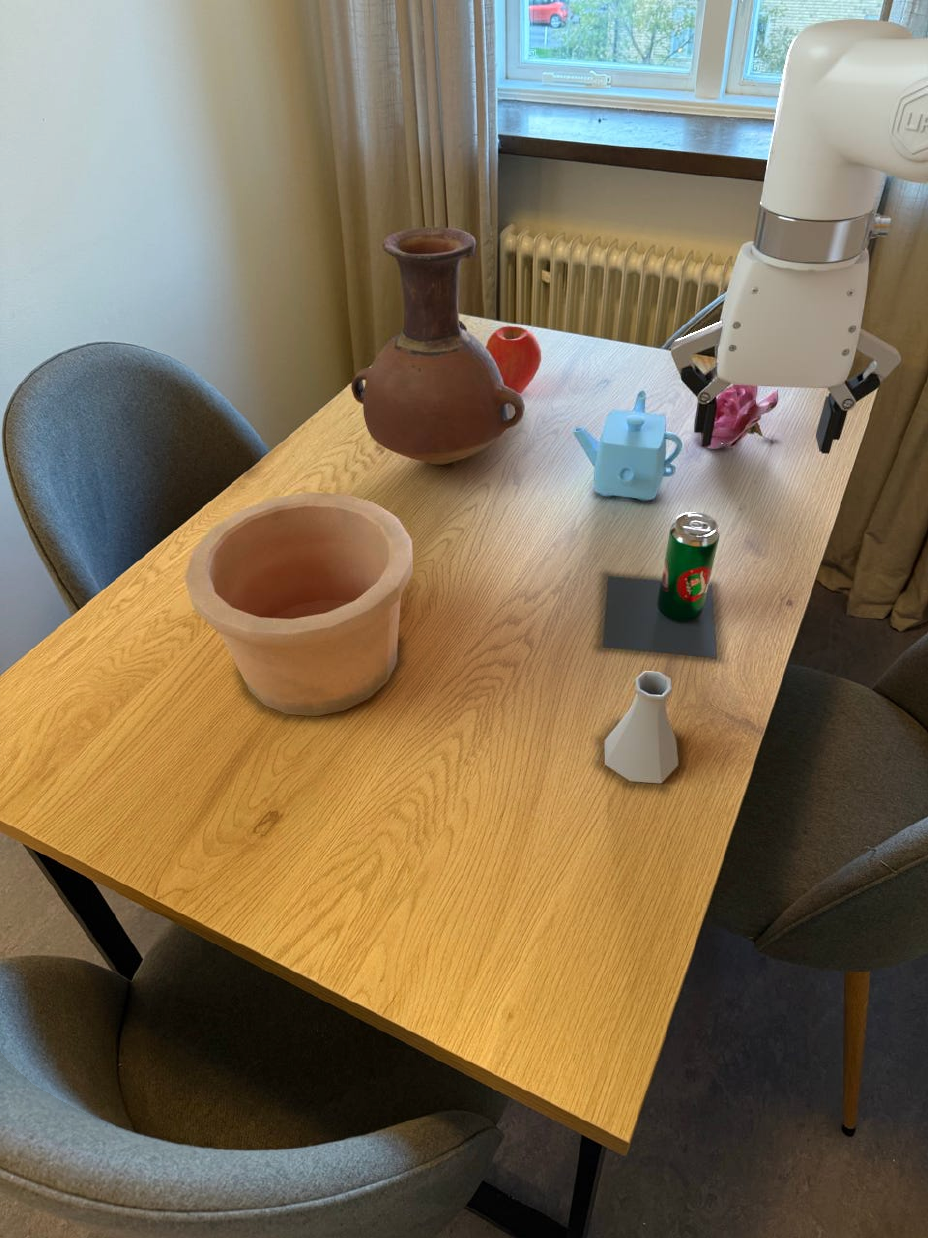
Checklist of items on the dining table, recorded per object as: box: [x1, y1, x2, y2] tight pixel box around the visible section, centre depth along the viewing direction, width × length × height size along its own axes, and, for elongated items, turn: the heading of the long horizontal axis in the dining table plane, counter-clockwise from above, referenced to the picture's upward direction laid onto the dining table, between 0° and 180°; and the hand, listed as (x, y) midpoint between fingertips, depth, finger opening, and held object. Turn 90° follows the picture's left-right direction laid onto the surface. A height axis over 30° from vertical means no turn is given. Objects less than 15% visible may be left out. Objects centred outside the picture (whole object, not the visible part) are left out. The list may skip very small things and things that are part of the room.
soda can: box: [657, 511, 721, 622], centre depth 90 cm, size 5×5×12 cm
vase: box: [350, 226, 525, 466], centre depth 109 cm, size 25×20×30 cm
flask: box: [604, 670, 679, 784], centre depth 76 cm, size 7×7×10 cm
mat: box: [602, 575, 717, 659], centre depth 94 cm, size 12×12×1 cm
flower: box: [698, 384, 779, 450], centre depth 117 cm, size 11×10×10 cm
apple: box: [485, 325, 542, 395], centre depth 129 cm, size 9×8×11 cm
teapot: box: [572, 390, 683, 502], centre depth 110 cm, size 18×14×10 cm
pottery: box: [184, 492, 414, 717], centre depth 86 cm, size 22×22×14 cm
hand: (762, 442), depth 71 cm, fingers open, 9 cm apart
